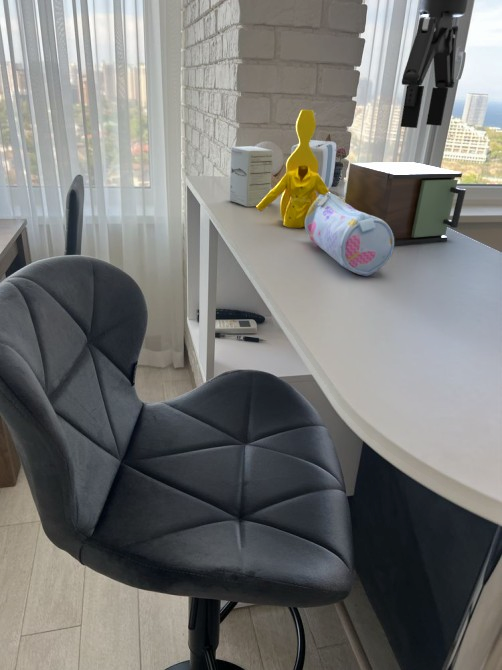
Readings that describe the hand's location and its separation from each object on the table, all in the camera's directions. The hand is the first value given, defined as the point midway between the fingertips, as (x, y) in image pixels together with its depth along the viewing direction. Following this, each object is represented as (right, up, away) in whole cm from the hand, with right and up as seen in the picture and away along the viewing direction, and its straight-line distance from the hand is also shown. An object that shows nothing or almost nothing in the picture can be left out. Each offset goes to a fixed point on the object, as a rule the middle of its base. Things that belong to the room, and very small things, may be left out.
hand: (421, 126), depth 93 cm
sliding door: (+4, -20, +4) cm, 21 cm away
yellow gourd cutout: (-15, -1, +42) cm, 45 cm away
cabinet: (-3, -18, +10) cm, 21 cm away
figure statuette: (-22, -15, +13) cm, 30 cm away
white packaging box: (-32, -7, +30) cm, 44 cm away
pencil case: (-16, -26, -7) cm, 31 cm away
